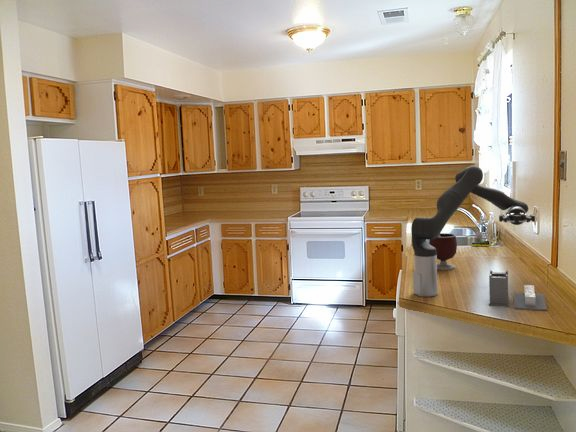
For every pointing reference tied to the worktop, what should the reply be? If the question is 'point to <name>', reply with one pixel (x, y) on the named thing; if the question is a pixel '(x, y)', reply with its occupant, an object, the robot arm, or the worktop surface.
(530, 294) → the rail
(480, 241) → the worktop surface
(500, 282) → the rack
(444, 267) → the mate gourd
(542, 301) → the mat
